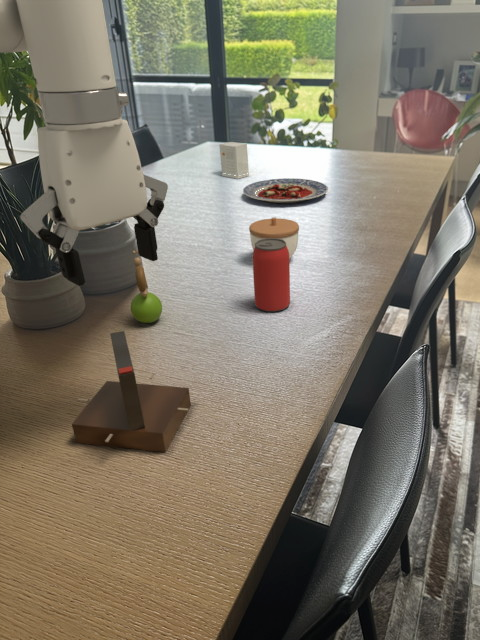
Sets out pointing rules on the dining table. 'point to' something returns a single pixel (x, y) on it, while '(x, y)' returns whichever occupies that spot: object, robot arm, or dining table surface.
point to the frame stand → (112, 423)
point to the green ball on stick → (144, 298)
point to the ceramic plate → (285, 190)
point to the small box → (234, 159)
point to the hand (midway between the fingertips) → (113, 269)
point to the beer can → (271, 274)
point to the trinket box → (275, 232)
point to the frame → (127, 381)
